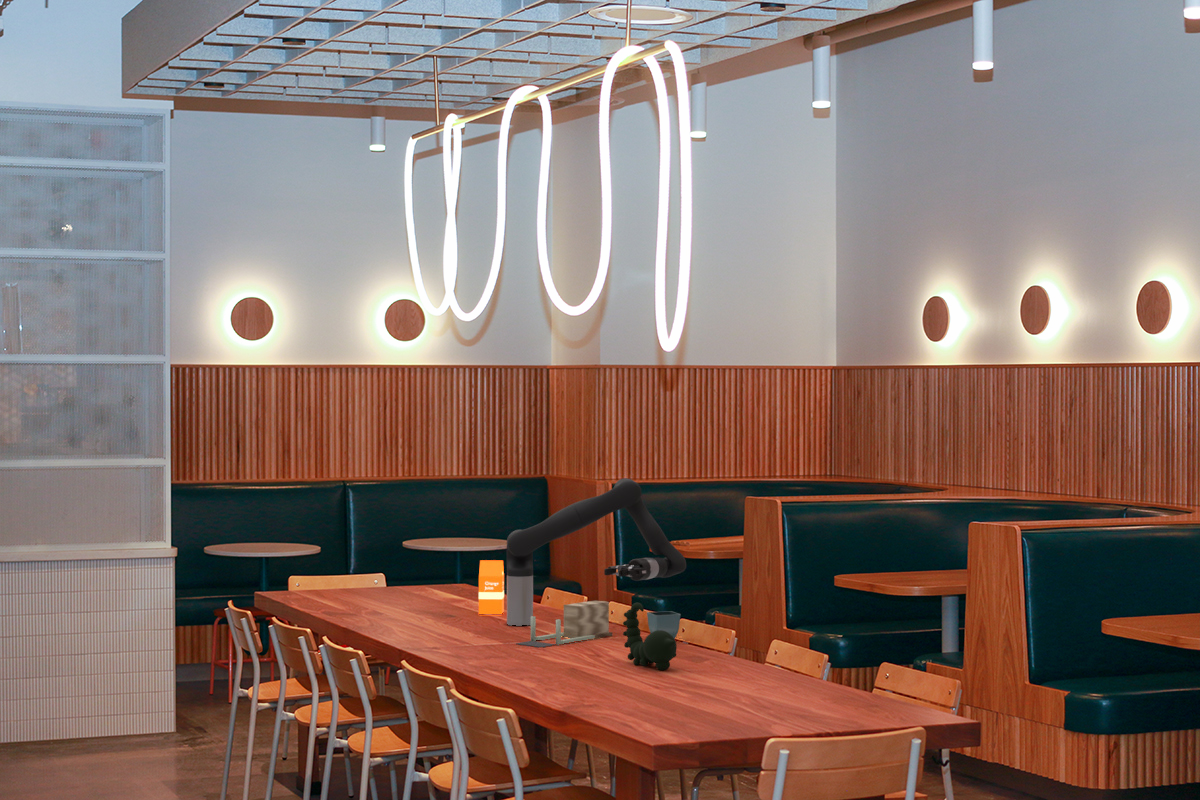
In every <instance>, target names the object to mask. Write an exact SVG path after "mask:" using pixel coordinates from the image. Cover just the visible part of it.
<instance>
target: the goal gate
mask: <svg viewBox="0 0 1200 800" xmlns="http://www.w3.org/2000/svg"><path fill="white" fill-rule="evenodd" d="M536 621H537V617H536V616H535V615H533V616H531V625H530V641H536V640H542V641H546V640H545V639H548V640H551V639H550V638H554V639H555V644H557V645H556V646H560V645H559V644H561V645H562V644H564V643H569V642H574V641H581V640H587V639H593V638H595V635H588V636H582V637H576V638H570V639H566V638H564V639H562V637H561V636H564V631H563V632H562V631H561V630H562V626H561V625H562V623H561V621H562V619H559V618H558V619H555V633H551V634H544V635H537V636H536V633H537V631H536V626H537V625H536ZM555 637H556V638H555ZM593 640H594V639H593ZM587 641H588V640H587ZM536 642H537V641H536ZM581 642H582V641H581ZM564 645H565V644H564Z"/></svg>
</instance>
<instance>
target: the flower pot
mask: <svg viewBox="0 0 1200 800" xmlns="http://www.w3.org/2000/svg"><path fill="white" fill-rule="evenodd" d="M646 617H647V625H648V629H649V632H650V633H652V632H654V631H657V630H663V631H666V632H668V633H669V634H671V635H672V636H673V638H674V639H675V640H676V638H677V635H678V632H679V629H680V623H681V613H678V612H675V611H672V610H670V611H647V612H646Z"/></svg>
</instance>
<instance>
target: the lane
mask: <svg viewBox="0 0 1200 800" xmlns="http://www.w3.org/2000/svg"><path fill="white" fill-rule="evenodd" d="M594 635H595V638H598V639H600V638H599V637H604V638H606V637H605V636H610V637H613V631H612V632H611V631H609V632H606V633H600V634H594Z"/></svg>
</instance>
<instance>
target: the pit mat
mask: <svg viewBox="0 0 1200 800" xmlns="http://www.w3.org/2000/svg"><path fill="white" fill-rule="evenodd" d="M517 644H518V646H524V645H526V646H525V647H531V646H534V648H539V647H543V648H547V647H546V646H549V647H553V646H552V645H555V646H557V645H556V643H551V642H550V643H549V642H542V641H531V640H528V641H522V642H516V643H515V645H517Z"/></svg>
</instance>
